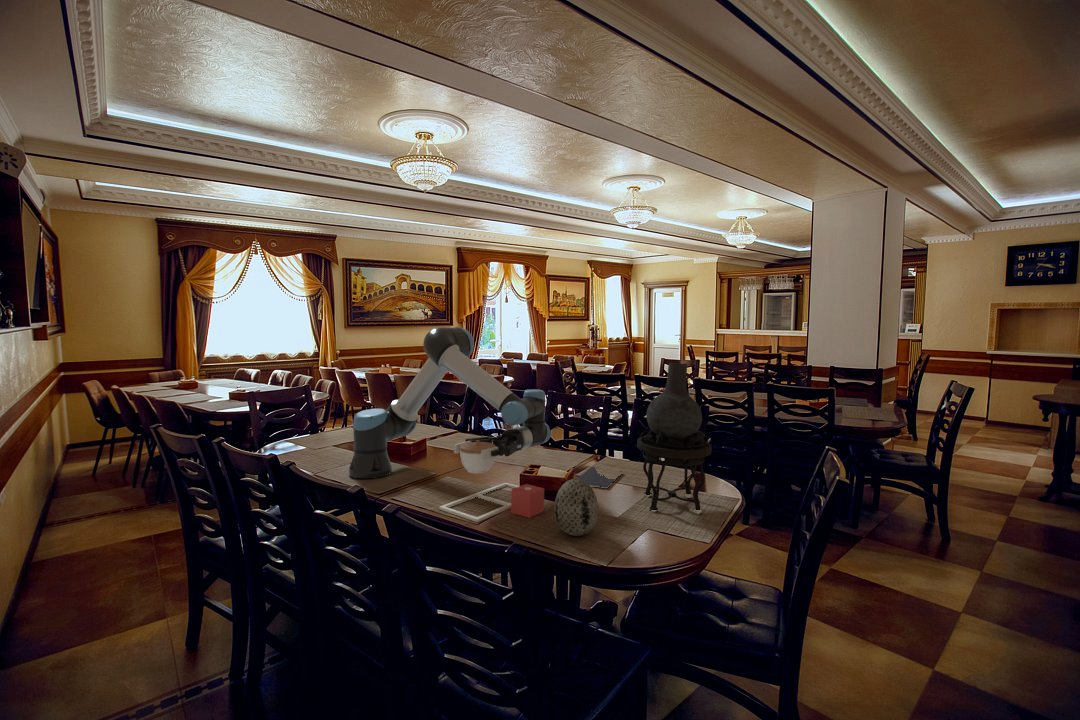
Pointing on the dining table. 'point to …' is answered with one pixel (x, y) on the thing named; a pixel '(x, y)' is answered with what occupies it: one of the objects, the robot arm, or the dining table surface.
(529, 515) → the die
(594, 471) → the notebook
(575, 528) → the decorative egg
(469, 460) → the lidded jar
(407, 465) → the dining table surface
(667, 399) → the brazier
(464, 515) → the white rectangular frame
